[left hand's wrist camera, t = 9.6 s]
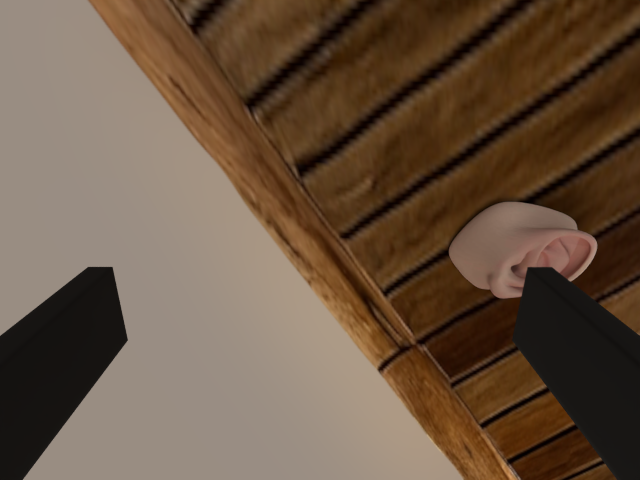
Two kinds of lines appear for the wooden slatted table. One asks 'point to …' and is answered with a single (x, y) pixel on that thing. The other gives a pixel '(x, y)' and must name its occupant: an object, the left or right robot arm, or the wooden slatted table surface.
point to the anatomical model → (519, 246)
